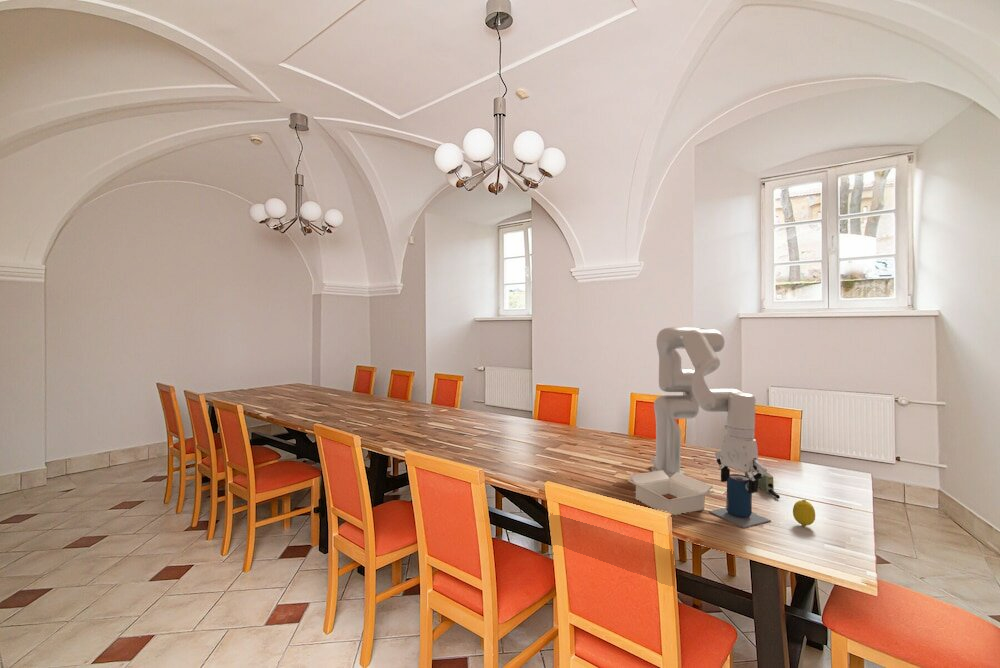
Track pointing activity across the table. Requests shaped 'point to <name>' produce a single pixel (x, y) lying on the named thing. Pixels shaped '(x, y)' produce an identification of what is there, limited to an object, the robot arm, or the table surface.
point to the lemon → (804, 513)
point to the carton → (670, 491)
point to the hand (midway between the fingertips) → (738, 486)
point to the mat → (750, 521)
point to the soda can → (738, 496)
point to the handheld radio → (766, 484)
